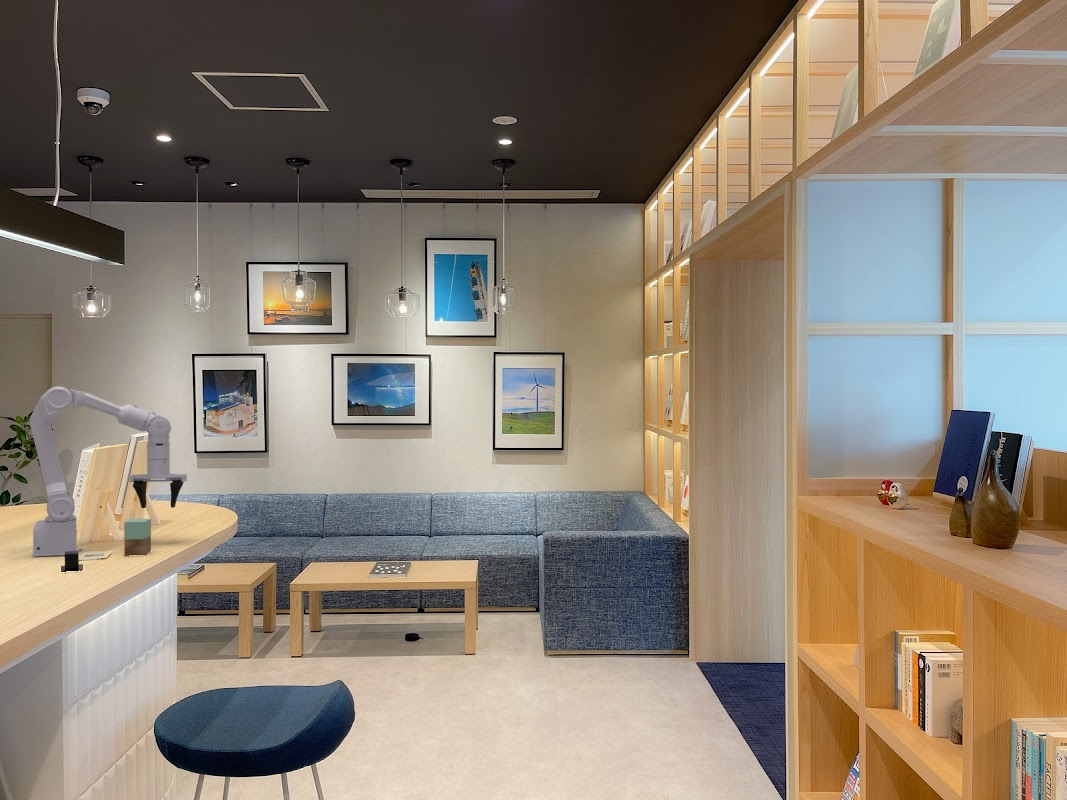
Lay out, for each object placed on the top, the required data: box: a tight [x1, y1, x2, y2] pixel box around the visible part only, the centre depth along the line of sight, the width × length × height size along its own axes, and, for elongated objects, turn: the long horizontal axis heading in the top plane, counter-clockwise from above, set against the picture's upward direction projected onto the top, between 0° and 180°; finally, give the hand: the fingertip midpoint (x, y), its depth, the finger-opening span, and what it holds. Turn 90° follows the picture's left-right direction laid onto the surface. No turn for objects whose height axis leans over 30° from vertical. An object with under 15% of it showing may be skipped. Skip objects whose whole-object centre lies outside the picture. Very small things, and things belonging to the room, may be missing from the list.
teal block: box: [123, 518, 152, 540], centre depth 207 cm, size 5×5×4 cm
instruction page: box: [79, 550, 109, 561], centre depth 204 cm, size 7×10×1 cm
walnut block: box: [123, 535, 152, 557], centre depth 207 cm, size 5×5×4 cm
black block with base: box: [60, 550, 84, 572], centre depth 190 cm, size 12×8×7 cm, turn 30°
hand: (158, 507), depth 219 cm, fingers open, 7 cm apart
